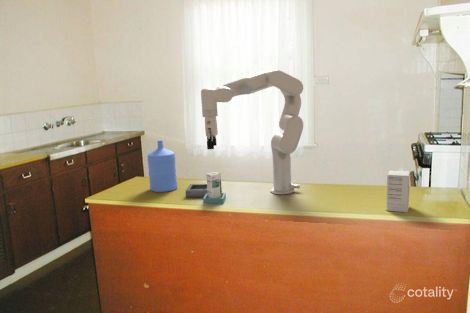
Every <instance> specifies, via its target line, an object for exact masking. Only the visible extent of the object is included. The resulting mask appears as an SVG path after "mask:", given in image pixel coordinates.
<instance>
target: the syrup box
mask: <svg viewBox="0 0 470 313" xmlns="http://www.w3.org/2000/svg"><path fill="white" fill-rule="evenodd" d="M205 174H206V175H205V176H206V184H207V191H208V198H222V193H223V190H222V176H221V173H220V172H218V171H215V172H207V173H205Z"/></svg>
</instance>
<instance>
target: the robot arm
mask: <svg viewBox="0 0 470 313" xmlns="http://www.w3.org/2000/svg"><path fill="white" fill-rule="evenodd" d="M272 87H275V88H276V89H278V90H280V92H281V94H282V95H283V97H284V105H283V106H284V107H283V109H282V113H281V116H280V119H279V121H278V127H279V128H280V130H282V131H283V133H282V132H280V133H275V134H274V135H273V136H272V138H271V140H270V147H271V148H270V149H271V154H272V175H273V176H272V179H273V180H272V181H273V183H272V184H273V187H272V188H270V192H271V193H272V194H275V195H291V194H292V193H294V192H295V189H301V185H300V184H297V183H295V184H293V182H292V160H291V159H292V158H291V154H293V153H294V152H296V150H297V148H298V147H299V146H298V145H299V143H300V140H301V136H302V134H303V130H304V121H303V119H302V118H301V117H300V116H299V115H300V110H301V108H302V107H301V106H302V97H301V94H302V93H303V92H304V91H303V90H304V84H303V82H302V81H301V80H300V79H298V78H296V77H294V76H292V75H291V74H288V73H287V72H284V71H282V70H280V69H271V68H270V69H267V70H266V69H265V71H260V72H257V73H254V74H253V75H252V74H251V75H249V76H246V77H244V78H243V77H242V78H241V79H238V80H234V81H232V82H228V83H225V84H222V85H220V86H217V87H216V88H214V87H213V88H212V87H207V88H205V87H204V88H202V89H201V90H200V100H201V114H202V118H204V128H205V129H204V130H205V132H204V133H205V137H206V149H207V150H214V149H215V146H217V138H216V137H217V136H218V133H219V131H218V122H217V117H218V116H219V115H218V114H219V113H218V103H228V102H231V100H232V99H233V98H234V97H237V96H242V95H250V94H254V93H258V92H260V91H263V90H265V89H268V88H272Z"/></svg>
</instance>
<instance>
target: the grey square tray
mask: <svg viewBox="0 0 470 313" xmlns="http://www.w3.org/2000/svg"><path fill="white" fill-rule="evenodd" d="M206 193H208V191H207V183H191V184H189V185H188V186H187V188H186V189H185V198H186V199H188V198H193V199H194V198H204V196H205V194H206Z"/></svg>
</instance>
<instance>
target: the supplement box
mask: <svg viewBox="0 0 470 313" xmlns="http://www.w3.org/2000/svg"><path fill="white" fill-rule="evenodd" d="M386 176H387V177H386V212H387V211H391V212H397V213H398V212H400V213H408V212H409V208H410V207H409V206H410V204H409V202H410V181H411V177H410V176H411V172H410V171H409V170H388V173H387V175H386Z"/></svg>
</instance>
